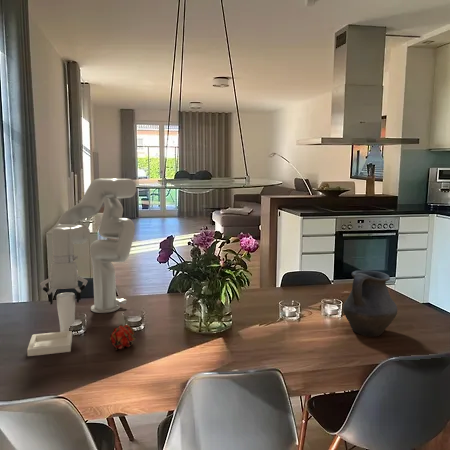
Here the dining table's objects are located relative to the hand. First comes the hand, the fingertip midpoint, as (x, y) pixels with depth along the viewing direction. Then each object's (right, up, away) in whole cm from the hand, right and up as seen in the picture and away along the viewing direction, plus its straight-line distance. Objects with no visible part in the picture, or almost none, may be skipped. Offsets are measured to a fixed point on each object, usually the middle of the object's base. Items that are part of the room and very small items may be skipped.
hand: (64, 302), depth 177 cm
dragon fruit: (+25, -14, -12) cm, 31 cm away
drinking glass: (0, -12, +2) cm, 12 cm away
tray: (-1, -14, -11) cm, 18 cm away
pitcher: (+118, -12, +2) cm, 119 cm away
